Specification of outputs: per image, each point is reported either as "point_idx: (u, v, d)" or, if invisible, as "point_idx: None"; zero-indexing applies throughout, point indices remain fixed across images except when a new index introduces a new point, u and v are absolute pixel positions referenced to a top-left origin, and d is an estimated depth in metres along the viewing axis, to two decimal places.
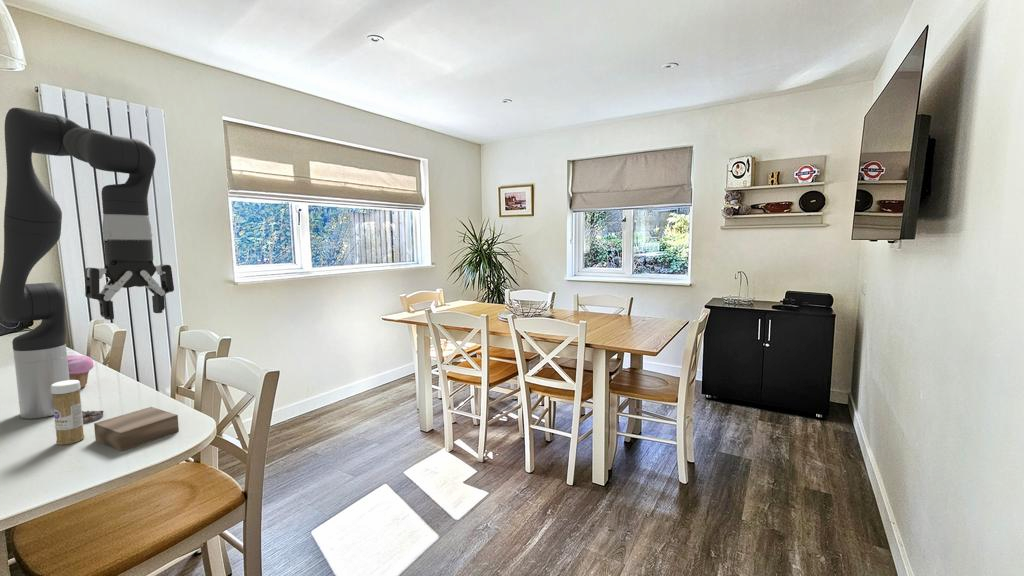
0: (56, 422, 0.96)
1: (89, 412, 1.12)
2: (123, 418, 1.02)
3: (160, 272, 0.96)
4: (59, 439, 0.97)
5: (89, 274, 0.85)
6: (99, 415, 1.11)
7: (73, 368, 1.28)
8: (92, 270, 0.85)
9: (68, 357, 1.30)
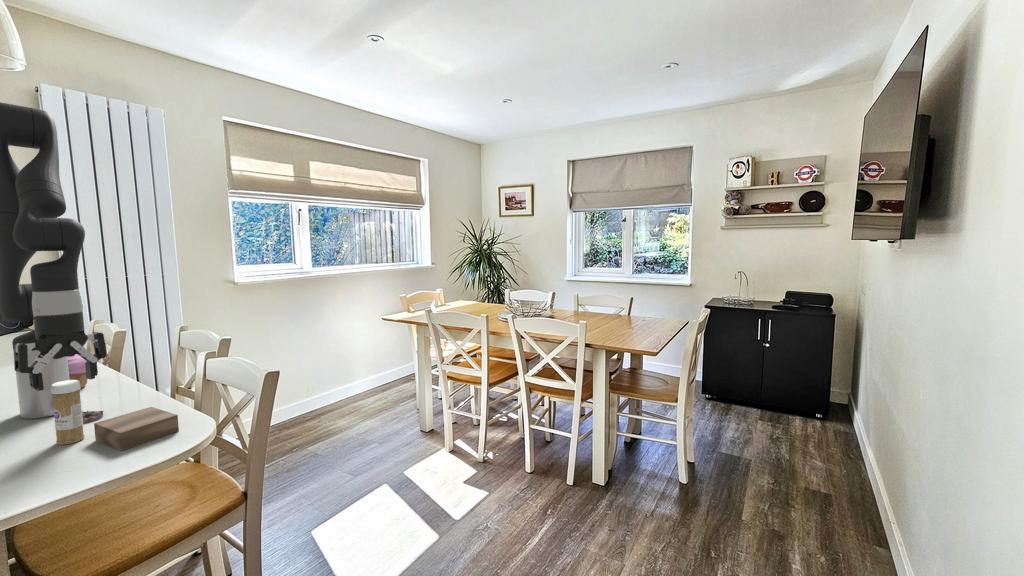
0: (56, 422, 0.96)
1: (89, 412, 1.12)
2: (123, 418, 1.02)
3: (92, 340, 1.01)
4: (59, 439, 0.97)
5: (17, 350, 0.90)
6: (99, 415, 1.11)
7: (73, 368, 1.28)
8: (20, 346, 0.90)
9: (68, 357, 1.30)
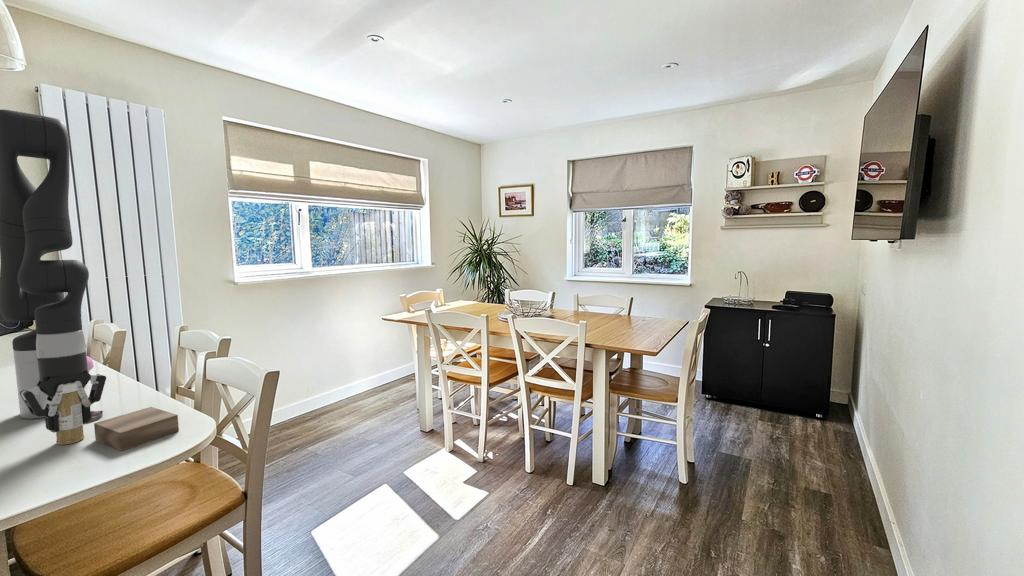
0: None
1: None
2: (123, 418, 1.02)
3: (93, 382, 1.02)
4: (59, 439, 0.97)
5: (25, 398, 0.92)
6: (99, 415, 1.11)
7: None
8: (25, 395, 0.91)
9: None
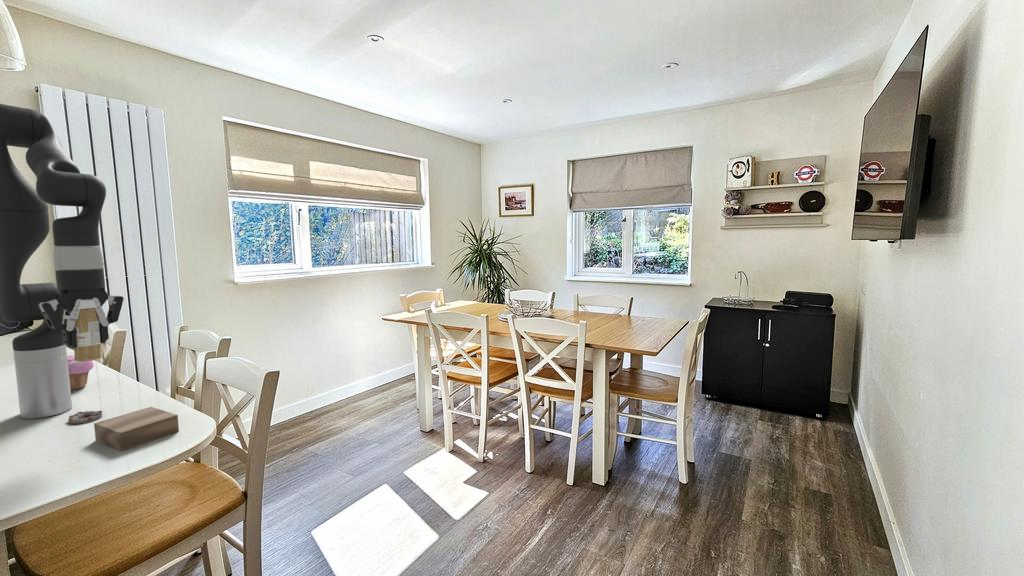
0: None
1: (87, 412, 1.12)
2: (123, 418, 1.02)
3: (111, 302, 1.00)
4: (77, 356, 0.95)
5: (43, 309, 0.90)
6: (98, 415, 1.11)
7: (73, 368, 1.28)
8: (43, 306, 0.90)
9: (68, 357, 1.30)
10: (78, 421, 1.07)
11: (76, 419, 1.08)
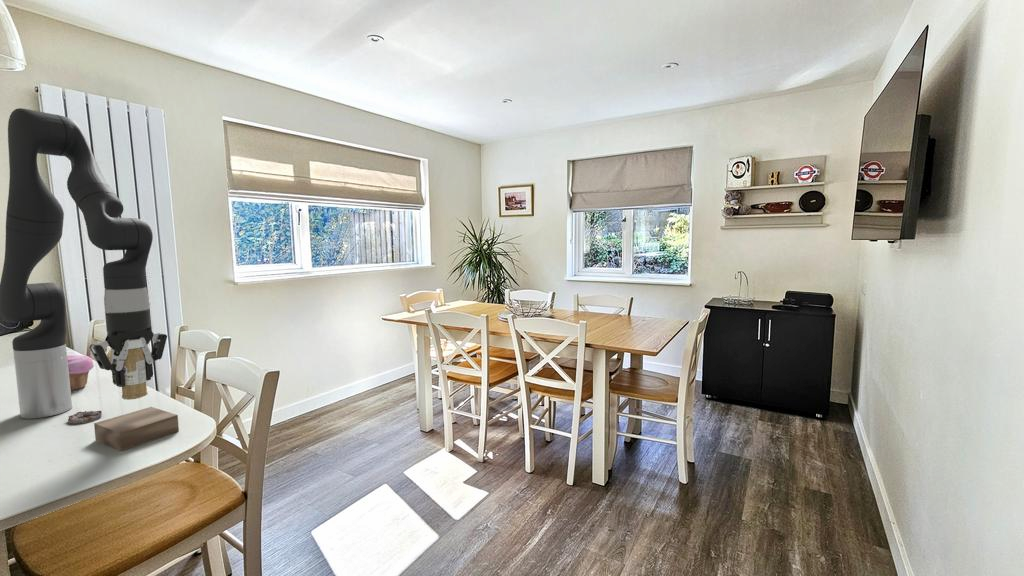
0: None
1: (87, 412, 1.12)
2: (123, 418, 1.02)
3: (155, 340, 1.04)
4: (125, 394, 0.99)
5: (95, 351, 0.94)
6: (98, 415, 1.11)
7: (73, 368, 1.28)
8: (96, 348, 0.93)
9: (68, 357, 1.30)
10: (78, 421, 1.08)
11: (76, 419, 1.08)
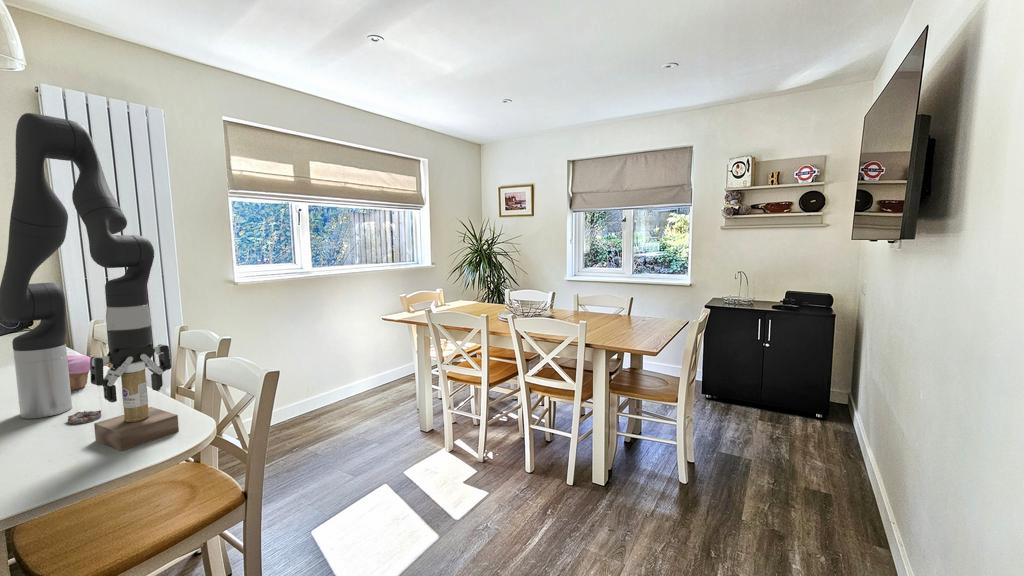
0: (124, 400, 0.99)
1: (86, 412, 1.12)
2: (123, 418, 1.02)
3: (158, 353, 1.04)
4: (127, 416, 0.99)
5: (94, 364, 0.94)
6: (98, 415, 1.11)
7: (73, 368, 1.28)
8: (96, 360, 0.93)
9: (68, 357, 1.30)
10: (78, 421, 1.08)
11: (76, 419, 1.08)
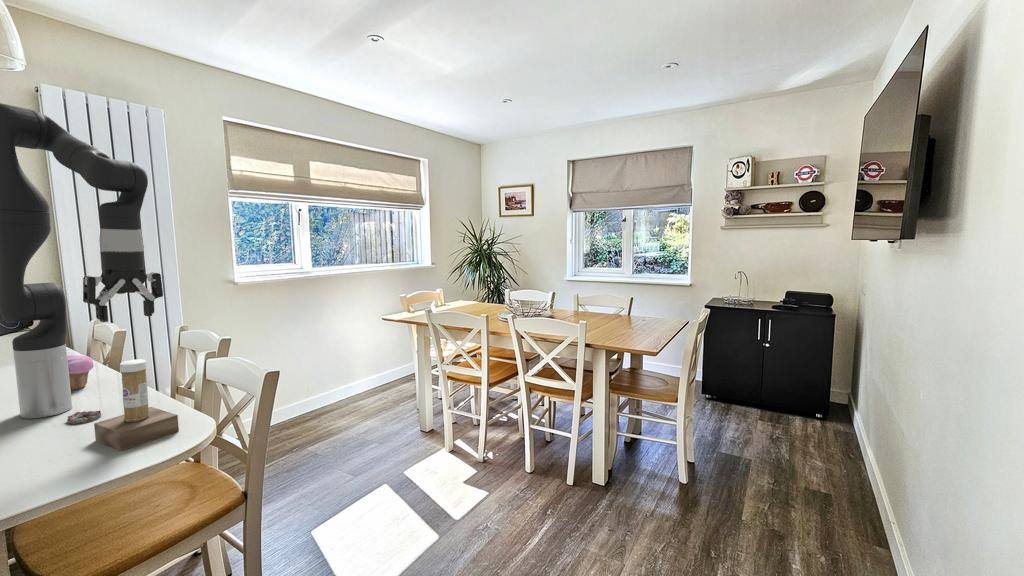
0: (124, 400, 0.99)
1: (86, 412, 1.12)
2: (123, 418, 1.02)
3: (151, 280, 1.07)
4: (127, 416, 0.99)
5: (86, 282, 0.96)
6: (98, 415, 1.11)
7: (73, 368, 1.28)
8: (89, 278, 0.96)
9: (68, 357, 1.30)
10: (78, 421, 1.08)
11: (76, 419, 1.08)
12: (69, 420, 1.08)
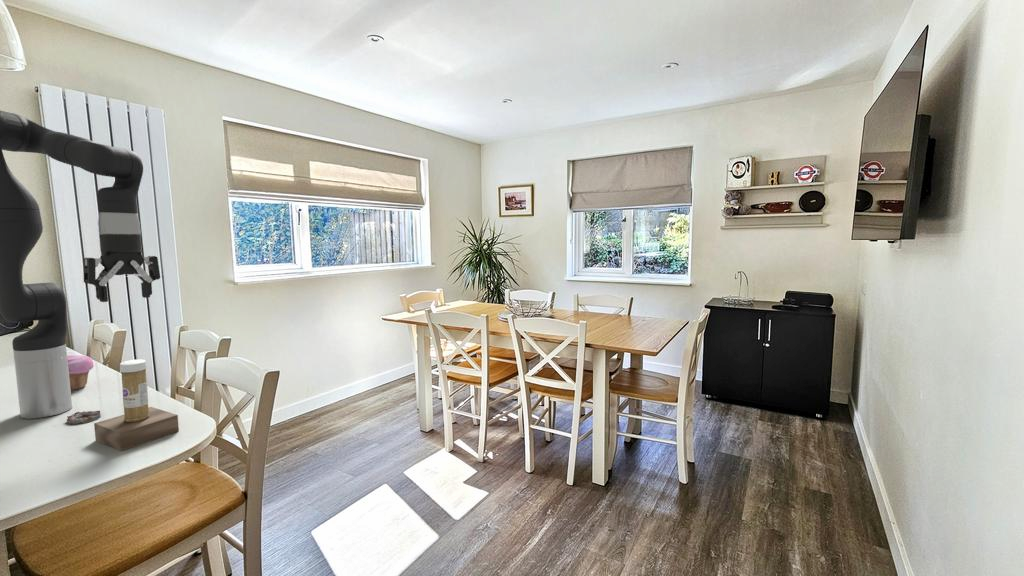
0: (124, 400, 0.99)
1: (85, 412, 1.12)
2: (123, 418, 1.02)
3: (148, 263, 1.12)
4: (127, 416, 0.99)
5: (87, 263, 1.01)
6: (98, 415, 1.11)
7: (73, 368, 1.28)
8: (89, 259, 1.01)
9: (68, 357, 1.30)
10: (78, 421, 1.08)
11: (76, 419, 1.08)
12: (69, 420, 1.08)
